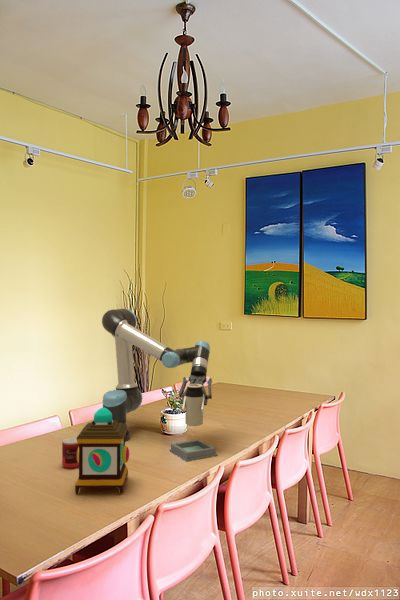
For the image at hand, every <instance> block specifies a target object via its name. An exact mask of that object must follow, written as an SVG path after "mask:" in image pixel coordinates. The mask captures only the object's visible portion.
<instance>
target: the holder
mask: <svg viewBox="0 0 400 600" xmlns="http://www.w3.org/2000/svg"><path fill="white" fill-rule="evenodd" d="M216 449H217V448H216V446H215V447H214V446H213V445H211V444H208V443H207V442H205V441H203V440H201V439H194V440H188V441H181V442H180V441H179V442H176V443H171V444H170V448H169V452H170V453H171V454H173V455H175V456H176V455H177V456H176V457H177V458H179V457H180V458H179V459H181V460H183V461H184V460H185V462H192V460H193V461H197V459H198V460H203V459H206V458H207V457H208V458H213V457H212V456H214V457H218V452H217V450H216ZM202 458H203V459H202ZM208 458H207V459H208Z"/></svg>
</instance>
